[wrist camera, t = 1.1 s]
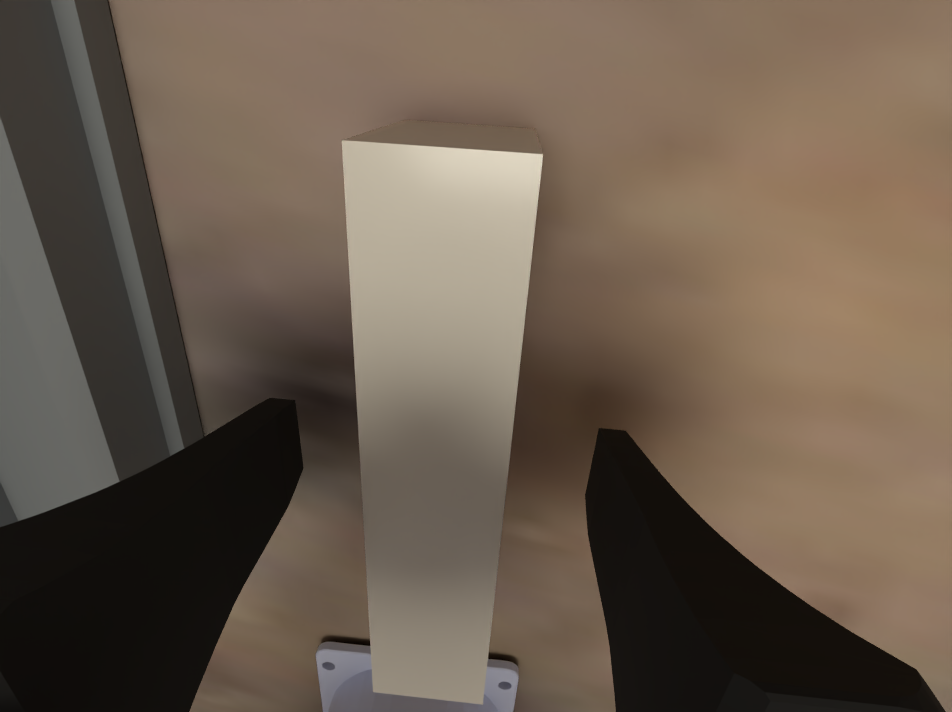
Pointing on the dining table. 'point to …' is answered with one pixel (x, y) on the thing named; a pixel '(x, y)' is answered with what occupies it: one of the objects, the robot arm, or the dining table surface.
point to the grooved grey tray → (79, 270)
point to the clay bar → (436, 383)
